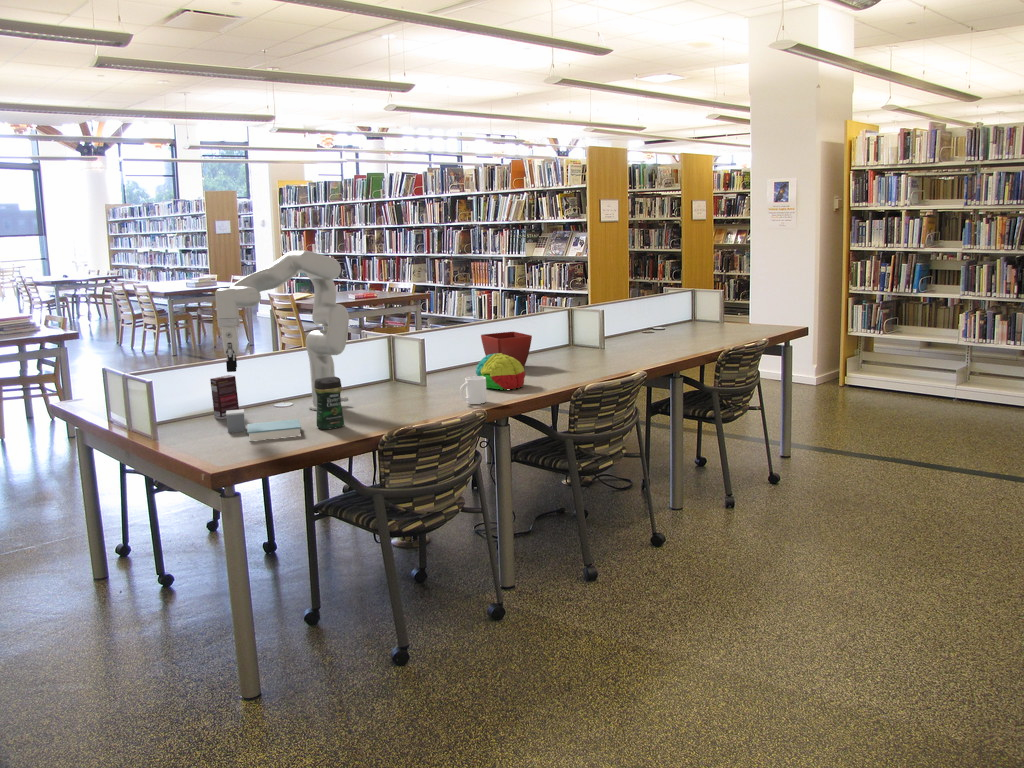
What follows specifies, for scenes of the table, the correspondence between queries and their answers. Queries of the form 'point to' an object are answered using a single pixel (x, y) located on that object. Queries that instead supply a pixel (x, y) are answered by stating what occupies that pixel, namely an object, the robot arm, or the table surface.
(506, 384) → the brain model
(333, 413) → the coffee jar
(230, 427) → the card box
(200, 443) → the table surface
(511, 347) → the plant pot
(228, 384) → the supplement box
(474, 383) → the mug
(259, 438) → the book
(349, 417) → the table surface
